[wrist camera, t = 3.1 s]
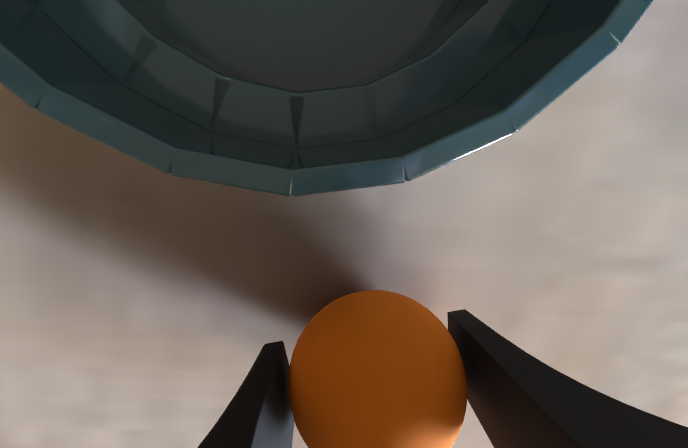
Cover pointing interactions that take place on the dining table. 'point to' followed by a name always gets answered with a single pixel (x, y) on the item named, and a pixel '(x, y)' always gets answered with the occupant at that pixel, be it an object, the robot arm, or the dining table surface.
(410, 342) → the mandarin
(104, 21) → the bowl
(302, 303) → the dining table surface
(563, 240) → the dining table surface
